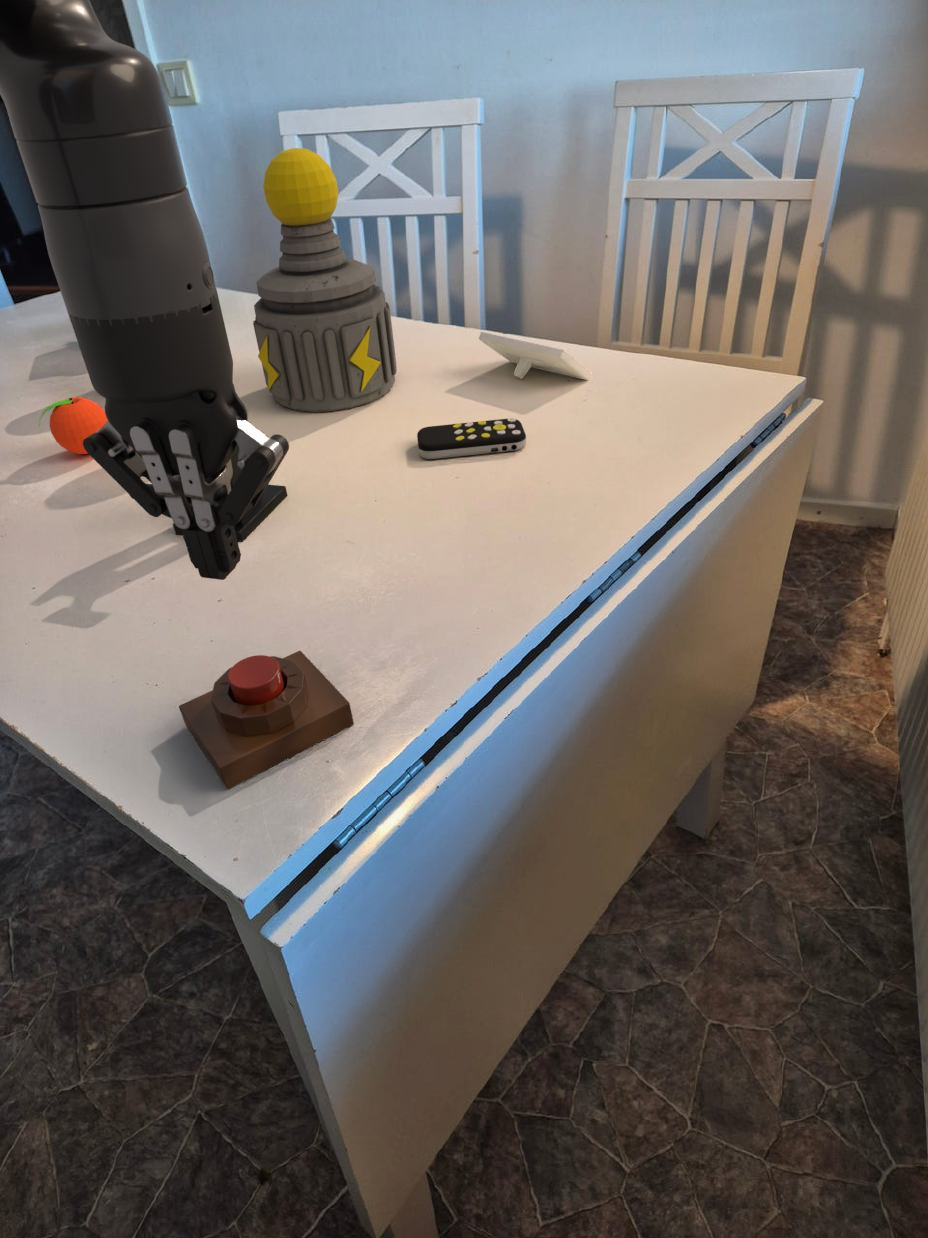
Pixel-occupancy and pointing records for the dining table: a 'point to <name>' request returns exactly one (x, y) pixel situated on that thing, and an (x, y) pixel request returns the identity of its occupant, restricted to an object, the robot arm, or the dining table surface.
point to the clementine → (75, 422)
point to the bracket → (259, 511)
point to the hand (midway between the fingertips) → (220, 572)
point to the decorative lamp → (318, 300)
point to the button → (256, 680)
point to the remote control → (471, 438)
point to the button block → (266, 721)
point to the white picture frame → (535, 356)
